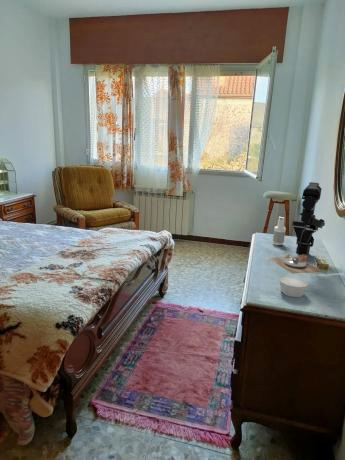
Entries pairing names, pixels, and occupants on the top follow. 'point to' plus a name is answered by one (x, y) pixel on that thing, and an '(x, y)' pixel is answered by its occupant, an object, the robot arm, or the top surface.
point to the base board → (292, 270)
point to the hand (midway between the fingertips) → (302, 242)
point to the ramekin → (293, 286)
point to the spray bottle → (279, 232)
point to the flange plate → (298, 265)
